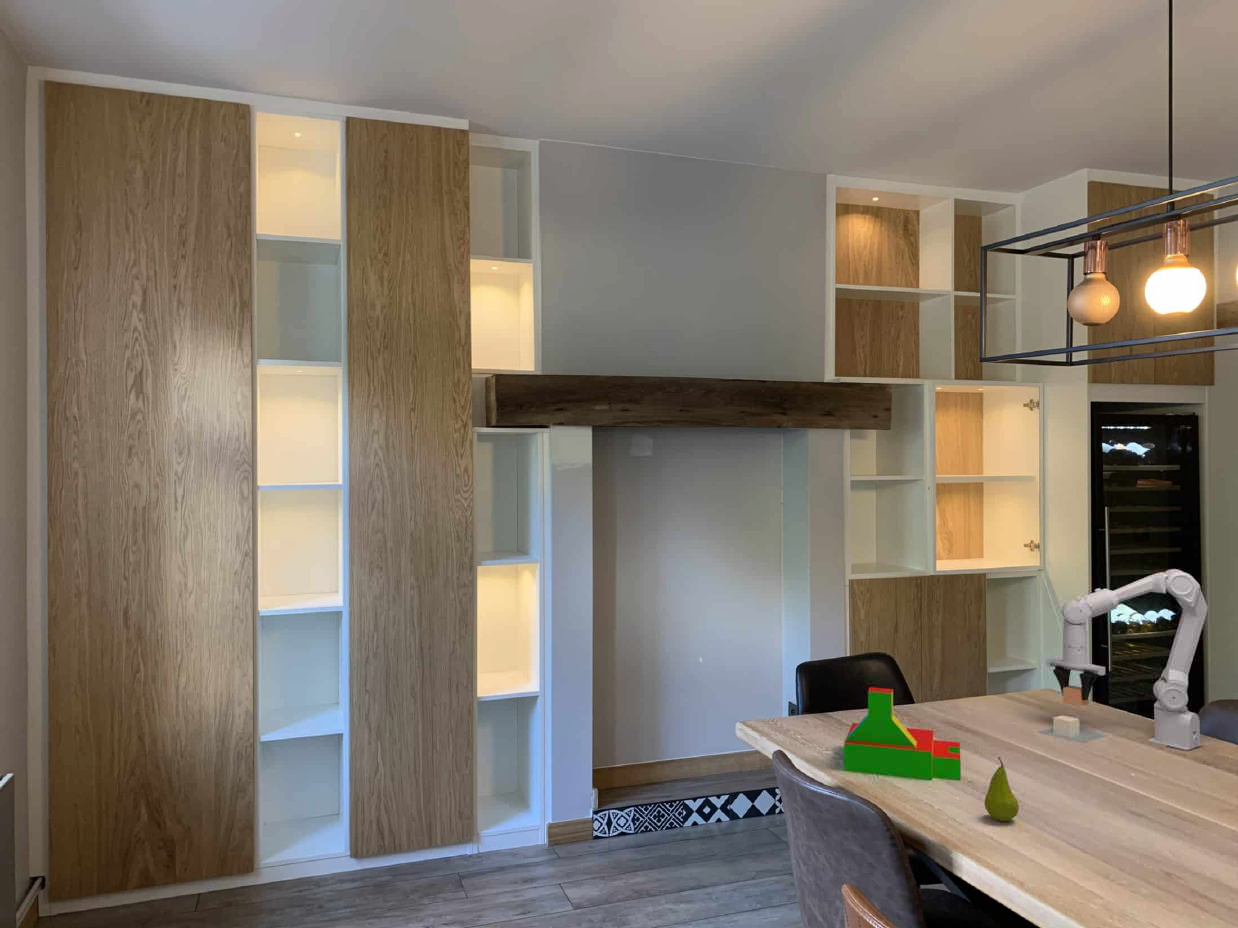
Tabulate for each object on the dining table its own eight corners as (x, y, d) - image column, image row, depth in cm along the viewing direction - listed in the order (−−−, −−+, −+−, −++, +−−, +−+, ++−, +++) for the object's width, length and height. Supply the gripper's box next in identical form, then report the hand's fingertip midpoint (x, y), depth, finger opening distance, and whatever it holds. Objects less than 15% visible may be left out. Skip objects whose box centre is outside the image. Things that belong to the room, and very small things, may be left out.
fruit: (1007, 828, 168) (1006, 764, 168) (977, 818, 173) (977, 756, 173) (1025, 820, 172) (1024, 758, 172) (995, 811, 177) (995, 751, 177)
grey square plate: (1107, 737, 230) (1107, 735, 230) (1083, 744, 223) (1083, 742, 223) (1061, 727, 239) (1061, 725, 239) (1037, 733, 233) (1037, 732, 233)
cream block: (1079, 734, 231) (1079, 718, 231) (1070, 736, 228) (1070, 721, 228) (1062, 730, 234) (1062, 715, 235) (1053, 732, 232) (1053, 717, 232)
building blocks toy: (960, 785, 193) (960, 701, 194) (844, 771, 202) (843, 691, 203) (959, 760, 211) (959, 683, 211) (852, 749, 220) (852, 675, 220)
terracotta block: (1088, 703, 233) (1088, 688, 233) (1080, 706, 230) (1080, 690, 230) (1071, 700, 236) (1071, 685, 236) (1063, 702, 234) (1063, 687, 234)
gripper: (1110, 648, 230) (1111, 700, 230) (1055, 640, 242) (1055, 690, 241) (1098, 651, 226) (1098, 704, 225) (1042, 643, 237) (1042, 694, 237)
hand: (1075, 697), depth 233 cm, fingers closed on terracotta block, 4 cm apart
